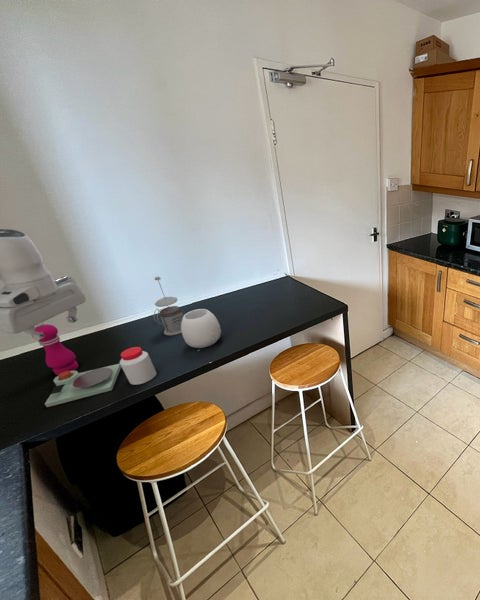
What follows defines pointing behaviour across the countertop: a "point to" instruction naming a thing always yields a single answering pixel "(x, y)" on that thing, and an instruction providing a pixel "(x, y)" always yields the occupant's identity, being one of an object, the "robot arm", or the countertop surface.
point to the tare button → (65, 375)
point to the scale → (74, 393)
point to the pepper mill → (56, 350)
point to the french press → (169, 326)
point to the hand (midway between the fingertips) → (57, 329)
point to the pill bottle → (137, 366)
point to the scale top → (88, 379)
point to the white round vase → (200, 328)
